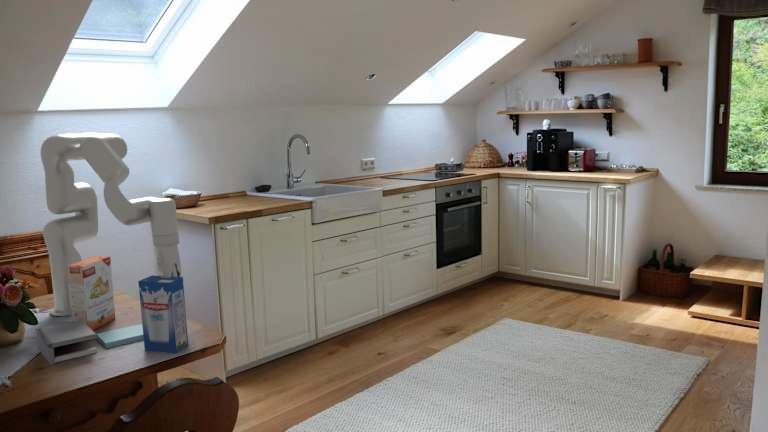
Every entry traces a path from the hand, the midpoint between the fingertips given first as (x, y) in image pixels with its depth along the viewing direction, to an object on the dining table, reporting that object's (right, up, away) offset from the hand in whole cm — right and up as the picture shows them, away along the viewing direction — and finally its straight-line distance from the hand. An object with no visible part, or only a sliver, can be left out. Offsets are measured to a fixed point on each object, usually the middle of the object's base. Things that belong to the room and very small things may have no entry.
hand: (172, 298), depth 200 cm
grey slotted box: (-24, -13, -16) cm, 32 cm away
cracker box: (-26, -9, +5) cm, 28 cm away
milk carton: (+4, -12, -16) cm, 21 cm away
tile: (-11, -11, -6) cm, 16 cm away
